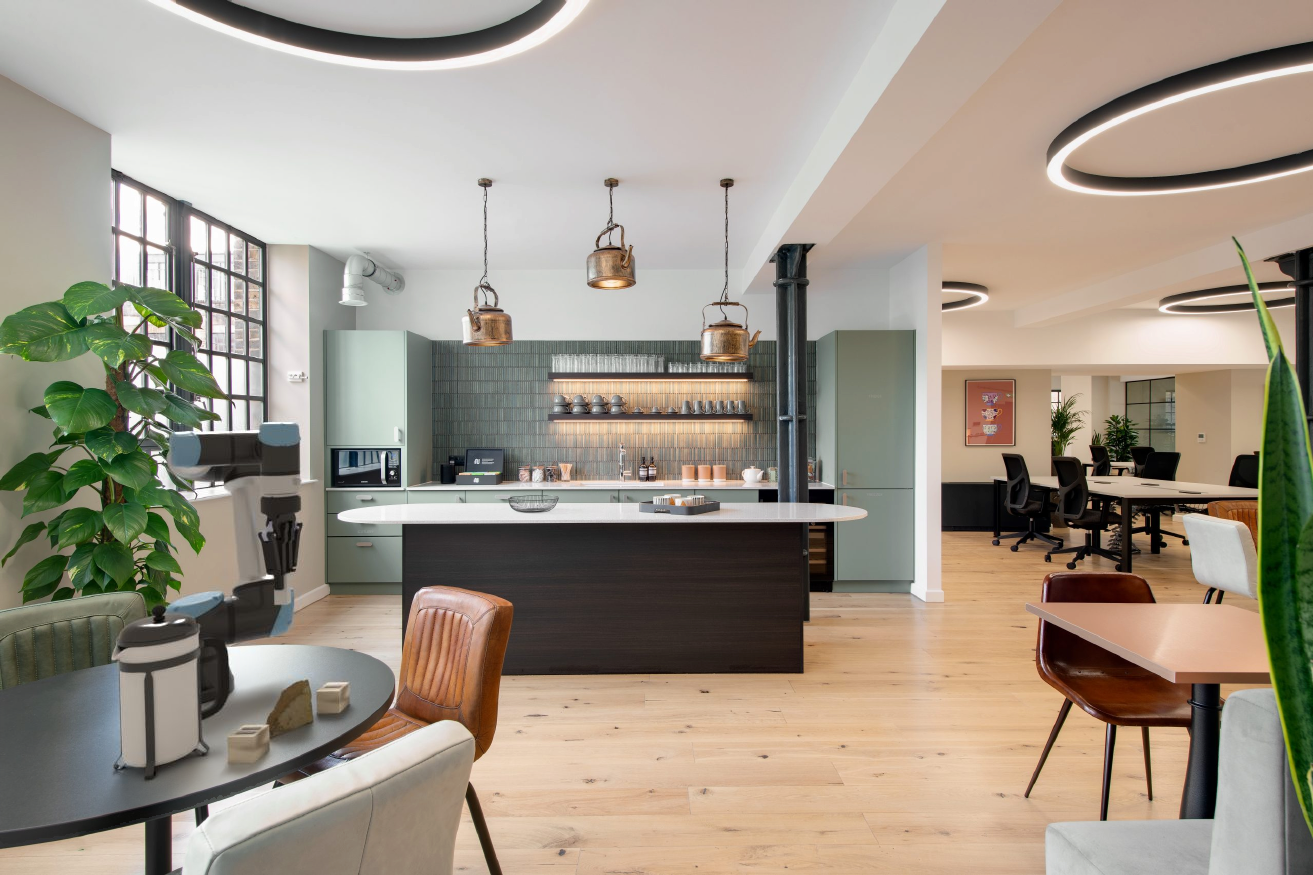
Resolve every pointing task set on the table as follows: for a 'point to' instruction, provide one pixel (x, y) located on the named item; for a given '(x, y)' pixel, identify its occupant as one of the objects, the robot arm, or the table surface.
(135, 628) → the coffee press
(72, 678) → the table surface
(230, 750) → the birch block
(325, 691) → the birch block
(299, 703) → the rock
